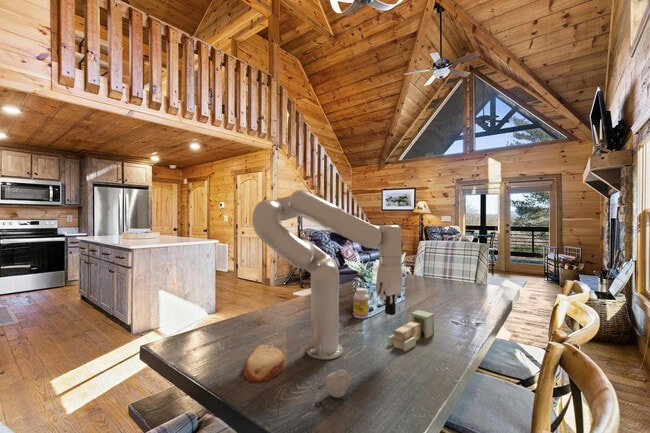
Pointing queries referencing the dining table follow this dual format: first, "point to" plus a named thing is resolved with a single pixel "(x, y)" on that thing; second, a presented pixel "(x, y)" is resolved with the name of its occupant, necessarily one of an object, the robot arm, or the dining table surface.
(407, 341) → the cradle
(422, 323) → the end cap
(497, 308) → the dining table surface
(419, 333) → the tan rectangular block
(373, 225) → the robot arm
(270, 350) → the slice of bread
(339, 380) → the pale grey rounded lump
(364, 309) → the supplement bottle
